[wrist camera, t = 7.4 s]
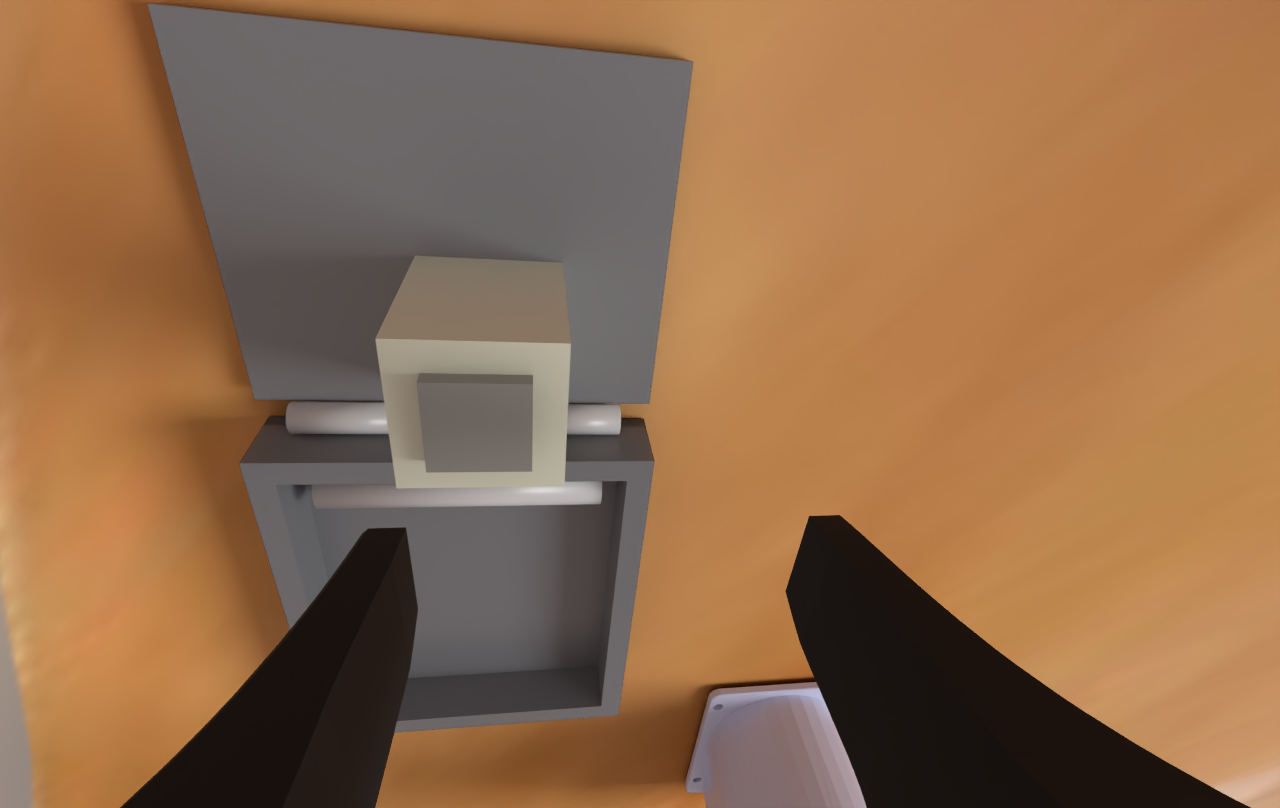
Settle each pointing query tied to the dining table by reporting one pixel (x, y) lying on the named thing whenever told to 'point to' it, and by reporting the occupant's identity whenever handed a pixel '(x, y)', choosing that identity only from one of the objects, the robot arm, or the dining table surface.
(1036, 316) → the dining table surface
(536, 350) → the block
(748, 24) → the dining table surface
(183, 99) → the lid panel
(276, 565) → the case
